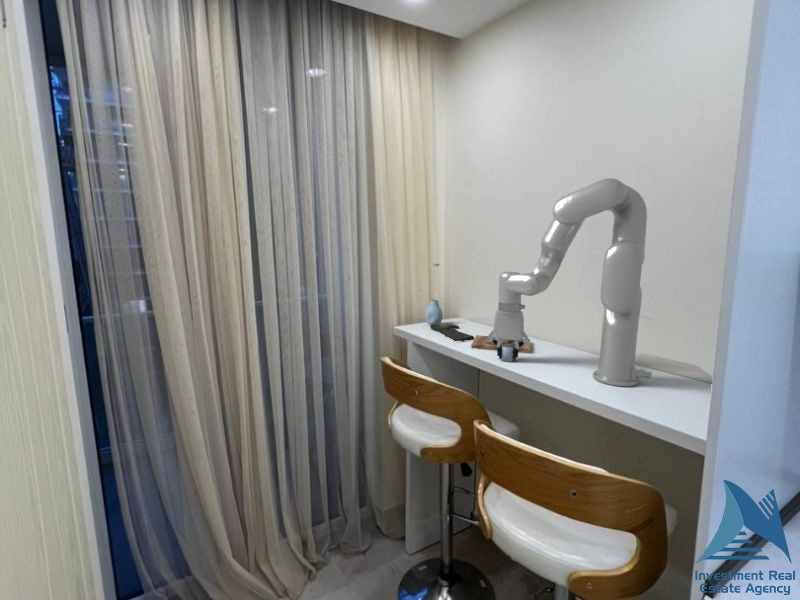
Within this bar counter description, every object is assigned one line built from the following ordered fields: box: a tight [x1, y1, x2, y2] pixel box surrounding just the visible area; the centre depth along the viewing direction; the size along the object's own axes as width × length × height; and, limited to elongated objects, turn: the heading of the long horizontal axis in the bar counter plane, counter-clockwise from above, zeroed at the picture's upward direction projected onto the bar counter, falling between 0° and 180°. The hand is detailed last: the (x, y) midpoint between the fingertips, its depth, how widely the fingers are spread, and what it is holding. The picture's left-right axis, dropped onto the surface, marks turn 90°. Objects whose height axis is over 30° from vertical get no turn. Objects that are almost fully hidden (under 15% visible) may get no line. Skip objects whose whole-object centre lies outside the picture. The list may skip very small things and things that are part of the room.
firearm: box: [430, 323, 475, 342], centre depth 187 cm, size 28×2×15 cm
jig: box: [471, 334, 531, 354], centre depth 167 cm, size 22×16×2 cm
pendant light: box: [424, 263, 443, 326], centre depth 201 cm, size 8×8×30 cm
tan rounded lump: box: [496, 339, 509, 344], centre depth 167 cm, size 6×6×5 cm
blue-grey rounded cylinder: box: [500, 345, 515, 363], centre depth 147 cm, size 4×4×5 cm
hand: (507, 358), depth 147 cm, fingers closed on blue-grey rounded cylinder, 4 cm apart
